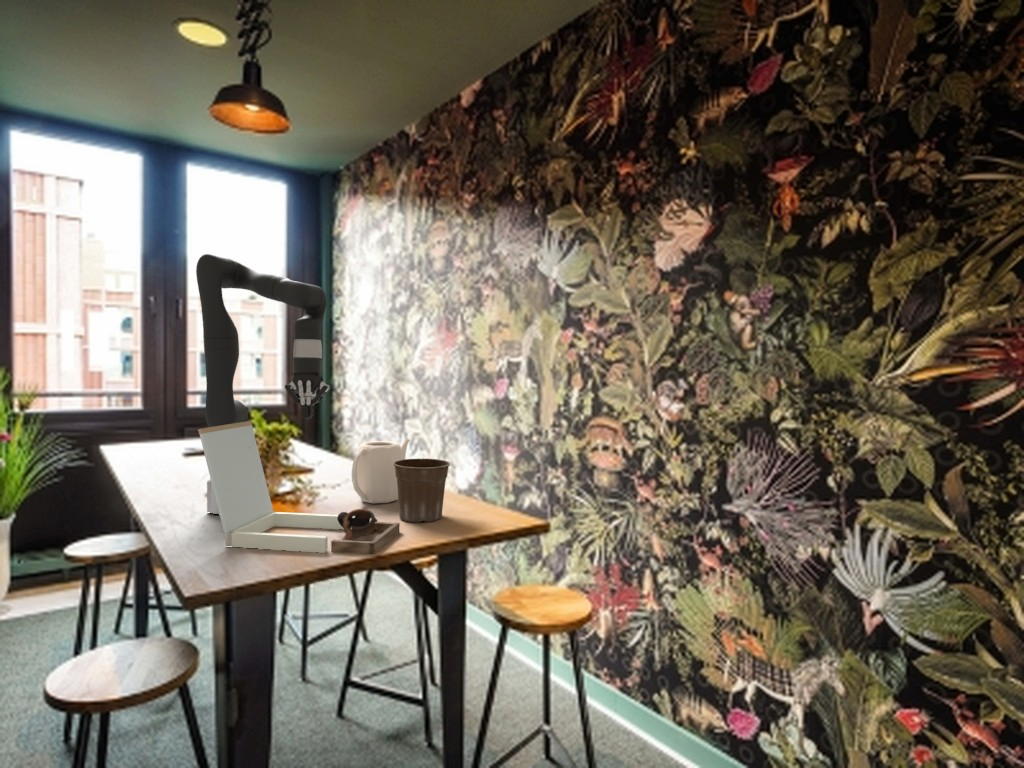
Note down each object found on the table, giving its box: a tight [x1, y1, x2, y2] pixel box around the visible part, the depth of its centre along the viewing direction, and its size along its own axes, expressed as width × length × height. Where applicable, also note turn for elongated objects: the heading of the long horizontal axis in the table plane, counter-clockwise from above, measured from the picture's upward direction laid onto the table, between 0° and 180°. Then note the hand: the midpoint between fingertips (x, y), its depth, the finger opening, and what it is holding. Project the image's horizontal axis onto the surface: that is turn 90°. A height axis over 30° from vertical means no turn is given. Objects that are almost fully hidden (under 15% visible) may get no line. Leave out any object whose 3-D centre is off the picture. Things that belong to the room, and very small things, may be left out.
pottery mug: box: [337, 508, 378, 541], centre depth 153 cm, size 12×10×8 cm
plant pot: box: [393, 458, 451, 523], centre depth 174 cm, size 16×16×16 cm
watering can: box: [351, 438, 410, 505], centre depth 196 cm, size 16×27×19 cm, turn 150°
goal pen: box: [330, 521, 400, 555], centre depth 150 cm, size 11×18×2 cm, turn 172°
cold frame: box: [197, 420, 355, 554], centre depth 152 cm, size 32×21×28 cm, turn 82°
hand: (307, 418), depth 167 cm, fingers closed
